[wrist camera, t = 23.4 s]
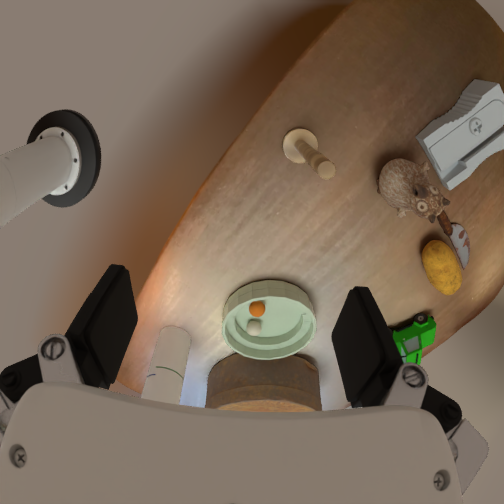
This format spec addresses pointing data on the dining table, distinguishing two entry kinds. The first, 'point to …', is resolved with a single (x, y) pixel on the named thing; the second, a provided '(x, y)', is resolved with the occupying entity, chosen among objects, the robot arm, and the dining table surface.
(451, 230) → the kitchen knife
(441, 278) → the potato
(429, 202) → the figurine
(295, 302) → the bowl
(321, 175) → the wooden peg stand
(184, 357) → the cylindrical container
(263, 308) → the orange ball
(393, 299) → the dining table surface
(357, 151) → the dining table surface
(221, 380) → the container
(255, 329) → the cream ball
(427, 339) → the toy car
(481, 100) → the wedge sharpener
